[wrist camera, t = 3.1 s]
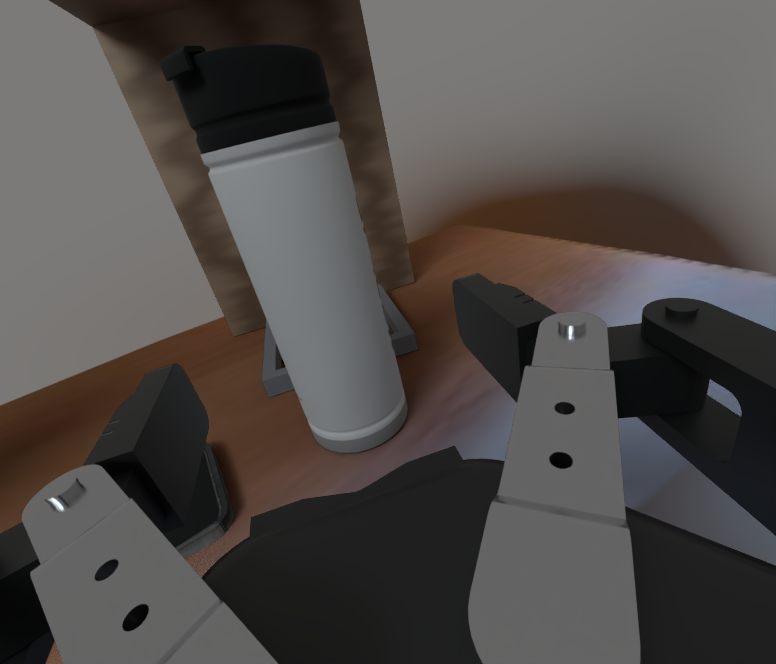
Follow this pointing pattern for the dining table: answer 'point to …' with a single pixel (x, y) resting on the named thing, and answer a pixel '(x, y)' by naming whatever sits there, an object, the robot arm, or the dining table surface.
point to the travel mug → (297, 230)
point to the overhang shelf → (178, 140)
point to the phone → (204, 510)
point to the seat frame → (278, 377)
